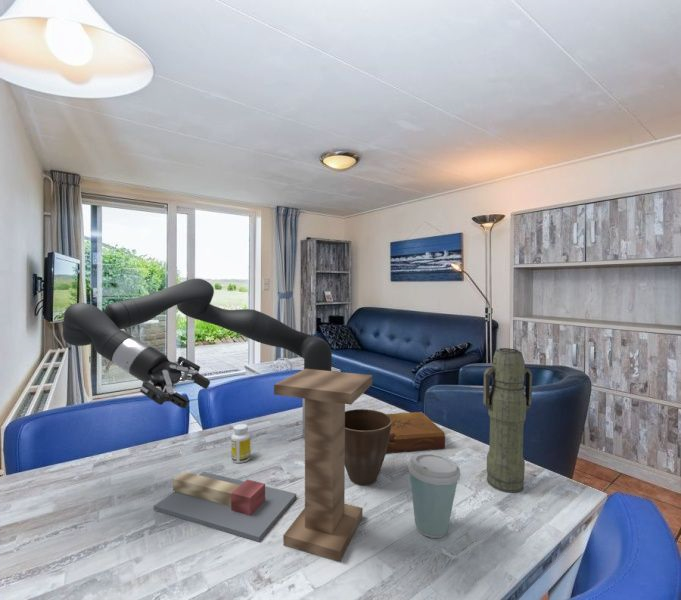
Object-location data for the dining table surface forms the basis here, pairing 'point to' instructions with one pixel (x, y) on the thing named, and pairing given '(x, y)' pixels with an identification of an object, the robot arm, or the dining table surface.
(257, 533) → the mat
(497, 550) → the dining table surface
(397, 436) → the diary
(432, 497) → the disposable coffee cup
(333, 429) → the brown tall pedestal shape
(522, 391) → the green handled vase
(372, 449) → the plant pot
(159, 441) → the dining table surface
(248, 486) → the bar
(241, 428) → the supplement bottle
